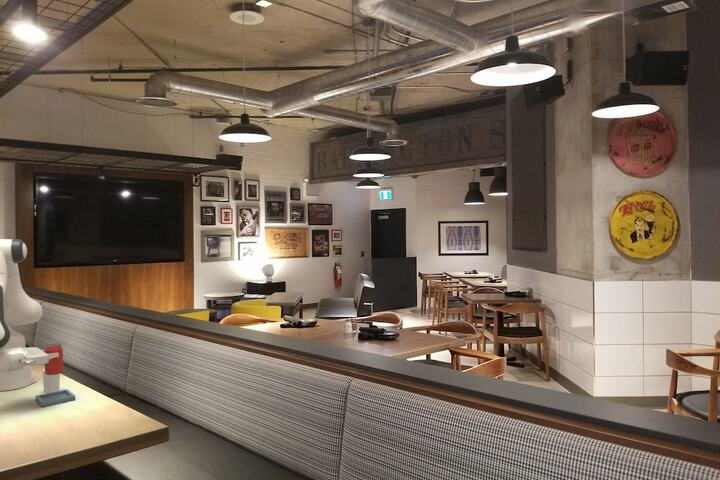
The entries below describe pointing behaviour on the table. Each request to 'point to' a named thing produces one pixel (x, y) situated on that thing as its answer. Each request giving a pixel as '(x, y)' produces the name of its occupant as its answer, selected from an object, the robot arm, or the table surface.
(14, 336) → the robot arm
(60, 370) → the beer can
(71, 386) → the table surface
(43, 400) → the slate tray
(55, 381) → the white coffee cup
